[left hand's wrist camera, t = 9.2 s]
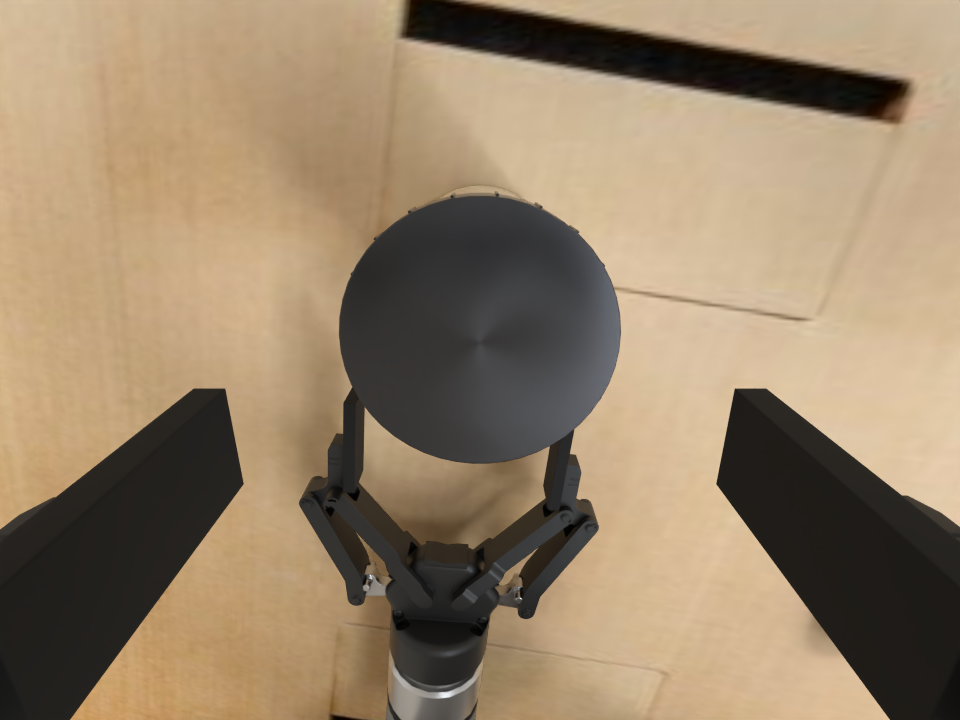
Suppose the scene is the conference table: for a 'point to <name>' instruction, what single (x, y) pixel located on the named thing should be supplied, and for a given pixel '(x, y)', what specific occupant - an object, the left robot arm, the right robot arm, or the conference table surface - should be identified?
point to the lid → (479, 328)
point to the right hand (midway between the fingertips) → (461, 403)
